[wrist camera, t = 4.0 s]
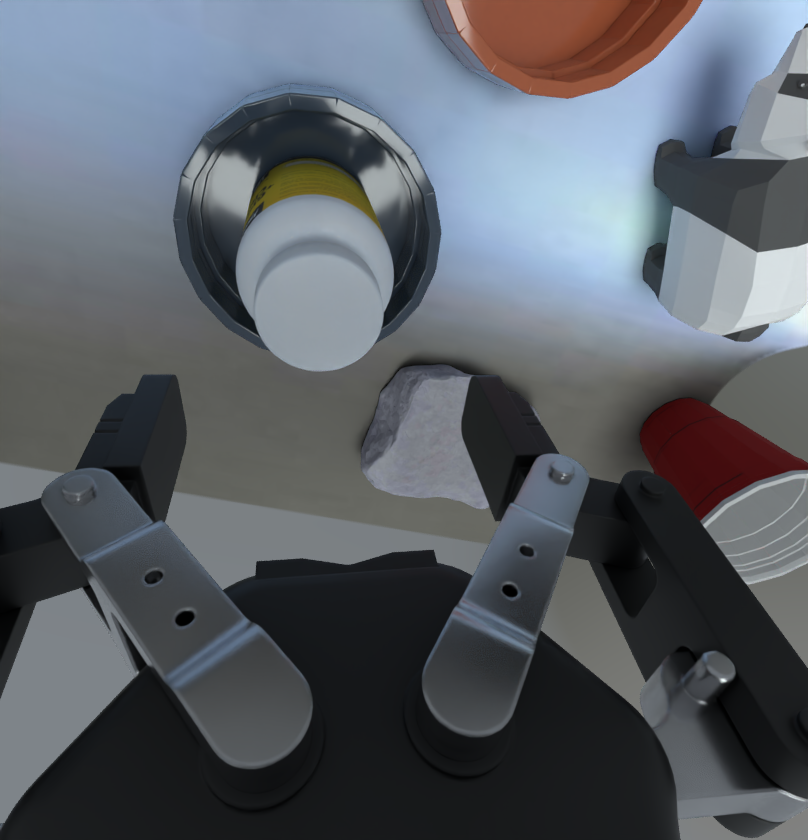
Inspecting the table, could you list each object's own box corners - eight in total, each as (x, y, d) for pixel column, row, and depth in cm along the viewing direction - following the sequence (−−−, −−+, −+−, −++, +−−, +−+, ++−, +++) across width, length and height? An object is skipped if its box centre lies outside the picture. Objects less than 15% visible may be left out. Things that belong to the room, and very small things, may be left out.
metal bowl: (206, 319, 30) (195, 358, 27) (172, 70, 23) (150, 78, 19) (409, 322, 33) (423, 358, 29) (436, 97, 25) (459, 109, 22)
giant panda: (711, 281, 34) (826, 352, 27) (632, 300, 34) (726, 376, 27) (773, 5, 25) (974, -4, 18) (666, 28, 25) (823, 30, 18)
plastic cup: (648, 361, 38) (764, 472, 28) (761, 377, 41) (901, 482, 31) (585, 470, 44) (663, 591, 35) (687, 477, 47) (785, 590, 37)
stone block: (393, 339, 35) (349, 463, 38) (414, 364, 31) (362, 500, 34) (533, 379, 40) (482, 486, 43) (567, 405, 36) (508, 521, 39)
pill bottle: (276, 126, 25) (266, 185, 16) (393, 192, 27) (441, 276, 18) (231, 247, 28) (200, 355, 19) (340, 296, 30) (359, 412, 21)
